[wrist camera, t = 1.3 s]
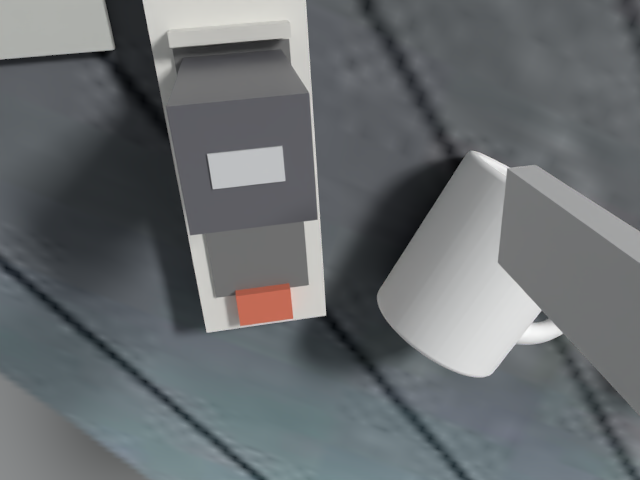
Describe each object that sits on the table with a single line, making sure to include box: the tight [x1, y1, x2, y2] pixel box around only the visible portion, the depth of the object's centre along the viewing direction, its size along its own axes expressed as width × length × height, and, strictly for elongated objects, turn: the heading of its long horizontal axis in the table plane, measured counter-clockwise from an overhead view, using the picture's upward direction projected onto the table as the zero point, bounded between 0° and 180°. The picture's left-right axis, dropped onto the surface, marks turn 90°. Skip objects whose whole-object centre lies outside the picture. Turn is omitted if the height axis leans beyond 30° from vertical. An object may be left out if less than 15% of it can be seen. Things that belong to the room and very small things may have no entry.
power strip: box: [143, 0, 326, 333], centre depth 25 cm, size 34×7×4 cm, turn 3°
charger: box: [166, 49, 318, 235], centre depth 22 cm, size 4×4×9 cm
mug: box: [377, 151, 563, 377], centre depth 32 cm, size 12×10×8 cm
